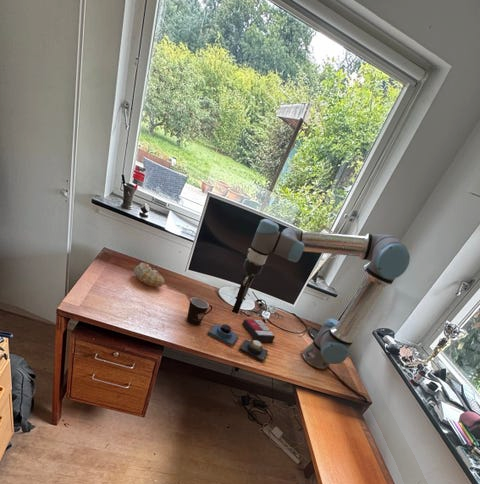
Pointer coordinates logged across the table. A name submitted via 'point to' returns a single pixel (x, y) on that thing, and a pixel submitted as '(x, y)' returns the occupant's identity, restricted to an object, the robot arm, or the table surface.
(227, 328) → the dark key
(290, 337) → the table surface
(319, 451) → the table surface
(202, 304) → the coffee mug
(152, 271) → the nautilus
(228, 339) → the blue key block
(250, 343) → the black key block
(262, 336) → the calculator
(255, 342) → the cream key
